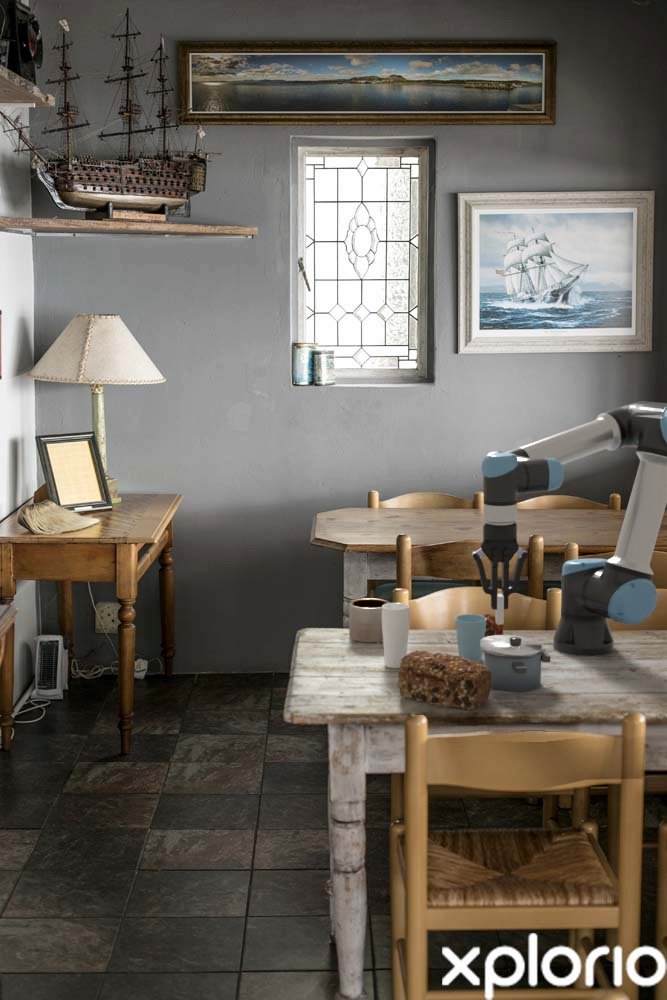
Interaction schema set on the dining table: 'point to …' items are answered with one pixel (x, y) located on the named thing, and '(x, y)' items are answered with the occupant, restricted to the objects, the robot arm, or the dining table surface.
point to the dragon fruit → (492, 626)
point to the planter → (366, 620)
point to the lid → (511, 646)
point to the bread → (444, 680)
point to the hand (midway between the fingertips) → (499, 622)
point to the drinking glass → (395, 632)
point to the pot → (515, 672)
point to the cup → (470, 635)
